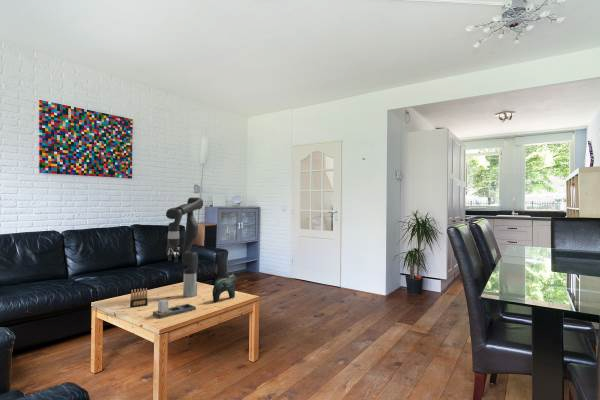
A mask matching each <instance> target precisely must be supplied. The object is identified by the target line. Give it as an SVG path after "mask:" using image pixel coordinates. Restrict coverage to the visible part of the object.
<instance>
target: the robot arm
mask: <svg viewBox="0 0 600 400" xmlns="http://www.w3.org/2000/svg"><path fill="white" fill-rule="evenodd" d="M203 207H204V201H203V198H201V197H191V196H190V197H189V198H188V199H187V203H183V204H181V205H179V206H175V207H171V208H169V209H167V210H166V212H165V216H166V218H167V219H169V220H174V221H173V222H169V223H168V226H167V227H168V231H167V232H168V233H167V245H166V251H165V252H166V255H167V261H168V262H170V261H172V260H173V259H172V254H173V256H174V263H178V262H179V256H181V262H182V263H183V264H186V265H188V267H186V268H184V269H183V284H182V285H183V289H182V290H183V293H182V296H183V297H184V298H191V297H196V296H197V295H198V282H197V271H198V266H199V265H198V263H199V256H198V255H199V254H198V253H197V252H196V251H195V252H194V251H191V249H192V246H193V243H194V242H195V240H196V239H197V237H198V235H199V234H198V233H199V224H198V222H197V221H196V220H197V219H196V218H195V216H194V211H197V210H201V209H202V208H203ZM184 215H186V225H185V231H184V232H185V233H184V235H185V236H184V241H183V242H184V244H183V247H182V248H183V249H182V254H181V246H179V245H180V224H181V221H182V218H183V216H184Z"/></svg>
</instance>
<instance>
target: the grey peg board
mask: <svg viewBox="0 0 600 400" xmlns="http://www.w3.org/2000/svg"><path fill="white" fill-rule="evenodd" d="M196 309H197V306H195V305H192V304H190V303H185V304H181V305H175V306H171V307H168V312H166V313H158V310H155V311H152V316H155V317H156V318H159V319H165V318H168V317H169V318H170V317H172V316H177V315H180V314H183V313H184V314H185V313H189V312H193V311H196ZM192 310H193V311H192Z"/></svg>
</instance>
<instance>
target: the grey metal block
mask: <svg viewBox="0 0 600 400" xmlns="http://www.w3.org/2000/svg"><path fill="white" fill-rule="evenodd" d="M168 308H169V300H167V299H160V300H158V302H157V311H158V313H166V312H168Z"/></svg>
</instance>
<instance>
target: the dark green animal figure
mask: <svg viewBox="0 0 600 400" xmlns="http://www.w3.org/2000/svg"><path fill="white" fill-rule="evenodd" d="M227 273H228V274H227ZM224 274H225V275H226V276H227V277H222V278H221V277H219V278H217V279H216V280H215V283H214V285H213V288H212V301H213V303H219V302H220V296H221V295H222V293H224V292H227V293H228V298H229V297H230V298H229V299H231V298H232V299H234V298H233V297H235V296H236V283H237V276H236V275H235V274H234V273H231V274H230V272H228V271H226V272H225V273H224ZM235 298H236V297H235ZM218 301H219V302H218Z"/></svg>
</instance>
